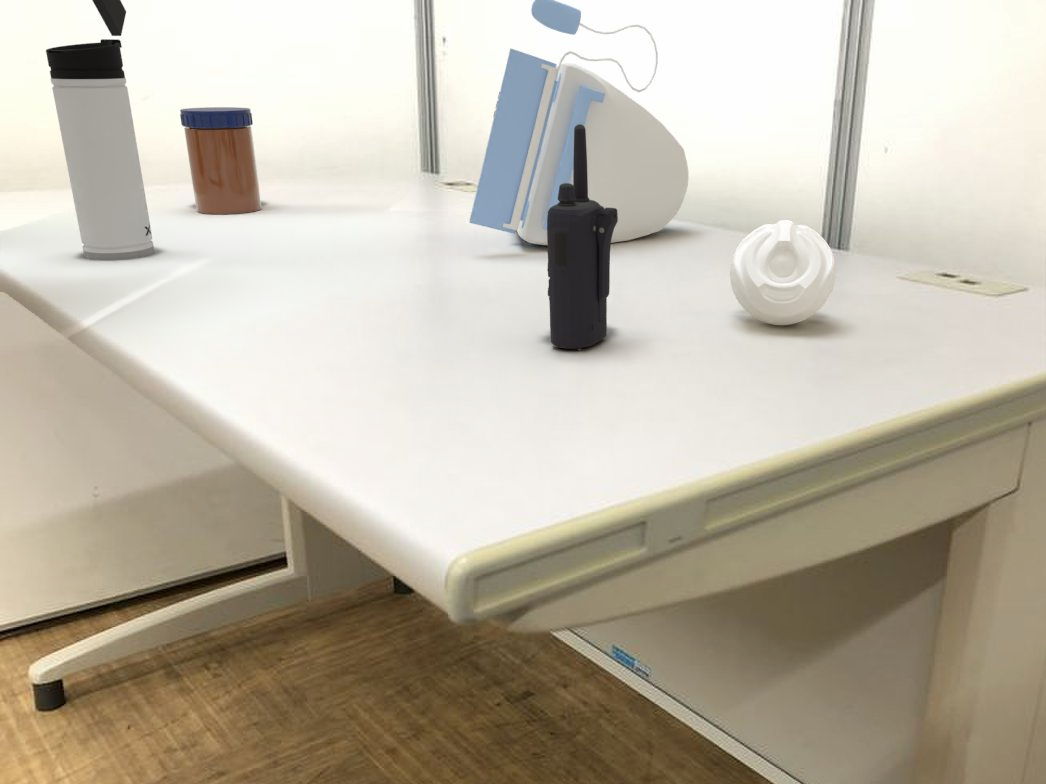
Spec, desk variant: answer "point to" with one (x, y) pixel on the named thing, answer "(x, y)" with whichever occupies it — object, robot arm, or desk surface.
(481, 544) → the desk surface
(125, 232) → the travel mug
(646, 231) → the vintage crt computer
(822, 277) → the motion sensor
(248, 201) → the jar
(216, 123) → the jar lid
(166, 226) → the desk surface
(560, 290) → the two-way radio
